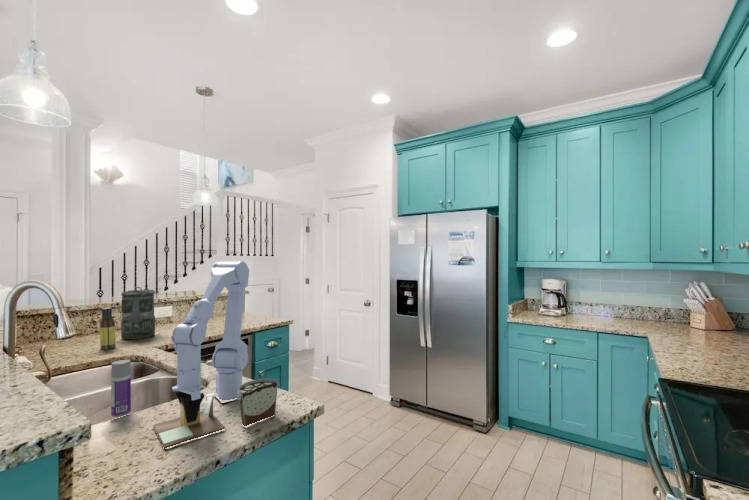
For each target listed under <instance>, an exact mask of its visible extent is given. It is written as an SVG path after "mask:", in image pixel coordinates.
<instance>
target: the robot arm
mask: <svg viewBox="0 0 749 500" xmlns="http://www.w3.org/2000/svg"><path fill="white" fill-rule="evenodd" d="M249 275H250V268H249V267H248V264H247V263H246V262H245V261H241V260H240V261H220V260H219V261H216V262H214V264H213V265H212V268H211V269H210V276H211V278H210V281H209V283H208V285H207V287H206V289H205V290H204V293H203V295H202V297H201V299H199V300H196V301H195V302H194V303H193V305H192V307H191V308H190V309H189V311H188V313H187V315H186V316H185V318H184V320H183V321H182V323H180V324H178V325H176V326H175V328H174V329H173V330H172V335H171V336H170V339H171V342H172V343H173V345H174V351H175V352H176V385H175V386H172V387H171V390H172V392H173V393H174V394H175V395H176V397H177V400H178V402H179V404H180V403H181V402H182V404H183V406H184V410H185V416H186V420H187V423H190V422H193V421H196V419H197V415H198V410H199V407H200V408H201V404H202V402H203V400H204V399H205V394H204V392H201V389H202V385H203V384H202V383H203V382H202V366H201V365H202V361H201V359H202V356H201V355H202V354H201V353H202V351H201V348H202V345H201V344H203V342H204V341H205V339H206V336H207V329H208V326H207V324H208V323H209V321H210V319H211V317H212V316H213V314H214V312H215V305H214V303H215V302H216V301H217V299H218V297H219V296H220V295H221V293H222V292H223V290H224V289H225V288H226V290H227V299H226V300H227V301H226V310H225V318H224V319H225V320H224V328H223V329H224V330H223V338H222V340H221V341H219V342H218V343H217V344H216V345H215V347H214V352H213V354H212V358H211V363H212V366H213V368H215V372H216V374H215V393H217V394H218V397H219V399H222V400H230V399H235V398H237V393H238V390H239V387H240V386H241V385H243V370H244V369H245V368H246V366H247V365H248V362H249V354H248V345H247V344H246V343H245V342H244V341H243V340H242V339H241V336H242V335H241V334H242V325H243V324H242V323H243V313H244V304H245V303H244V302H245V296H246V295H245V294H246V288H247V287H248V286H249Z"/></svg>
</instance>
